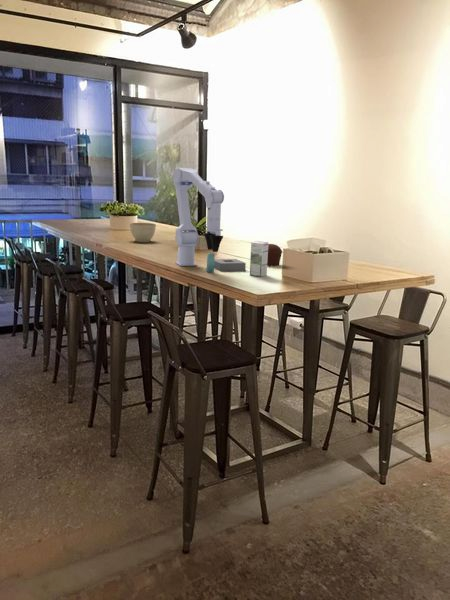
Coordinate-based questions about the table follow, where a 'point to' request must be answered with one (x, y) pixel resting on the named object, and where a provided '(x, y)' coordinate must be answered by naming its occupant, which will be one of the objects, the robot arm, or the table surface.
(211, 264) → the pin
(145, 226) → the planter bowl
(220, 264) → the socket block
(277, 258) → the muffin
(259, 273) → the syrup box
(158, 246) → the table surface
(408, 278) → the table surface
